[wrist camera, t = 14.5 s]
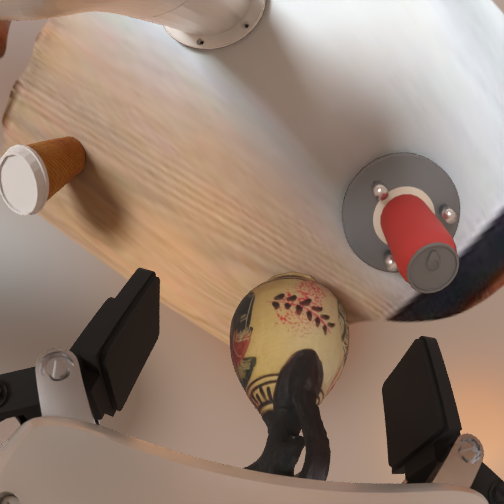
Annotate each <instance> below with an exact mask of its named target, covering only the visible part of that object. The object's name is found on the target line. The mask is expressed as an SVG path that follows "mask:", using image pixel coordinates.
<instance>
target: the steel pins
mask: <svg viewBox="0 0 504 504" xmlns="http://www.w3.org/2000/svg"><path fill="white" fill-rule="evenodd" d="M371 189H372V191H373V193H374V195H375V197H376V198H377V199H378V200H380V201H383V200H385V199H386V198H387V197H388V190H387V189H386V187H385V186H384V184H383V183H382V182H381V181H379V180H376V181H374V182H373V183H372V184H371ZM439 213H440V214H441V216H442V217H443V218H444V219H445V221H446V222H447V223H449V224H452V223H454V222H455V221H456V219H457V215H456V213H455V212H454V211H453V210H452V209H451V208H450V207H449V206H448V205H447V204H442V205H441V206H440V207H439ZM383 258H384V261H385V264H386V267H387V269H388V270H389V271H395V270H396V269H397V266H396V263H395V261H394V258H393V256H392V253H391V251H390V250H388V251H386V252H385V253H384V254H383Z"/></svg>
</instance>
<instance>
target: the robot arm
mask: <svg viewBox="0 0 504 504" xmlns="http://www.w3.org/2000/svg"><path fill="white" fill-rule="evenodd" d="M265 2H266V0H0V20H14V21H15V20H16V21H20V20H37V19H47V18H53V17H59V16H65V15H71V14H76V13H82V12H93V11H99V12H109V13H115V14H120V15H125V16H129V17H132V18H137V19H141V20H145V21H149V22H152V23H156V24H160V25H163V26H164V28H165V30H166V31H167V32H168V34H169V35H170V36H171V37H172V38H174V39H175V40H177V41H178V42H180V43H182V44H184V45H186V46H190V47H193V48H200V49H215V48H221V47H225V46H228V45H230V44H233V43H235V42H237V41H238V40H240V39H242V38H243V37H245V36H246V35H247V34H248V33H250V32H251V31H252V30H253V28H254V27H255V26H256V25H257V24H258V22H259V20H260V18H261V17H262V14H263V11H264V8H265ZM246 24H248V25H249V26H248V27H247V28H245V25H246ZM201 41H204V43H203V44H202V45H201ZM159 298H160V279H159V277H156V274H155V272H153V271H150V270H146V269H143V268H138V269H137V270H136V272H135V273H134V274H133V275H132V277H131V278H130V279H129V281H128V282H127V283H126V285H125V286H124V287H123V289H122V290H121V291H120V292H119V294H118V295H117V296H116V298H112V297H110V298H108V299H107V300H106V301H105V303H104V304H103V305H102V307H101V308H100V309H99V310H98V312H97V313H96V315H95V316H94V317H93V318H92V320H91V321H90V322H89V324H88V325H87V327H86V328H85V329H84V331H83V332H82V333H81V335H80V336H79V337H78V339H77V341H76V342H75V343H74V344H73V346H72V347H71V349H70V350H67V349H64V348H52V349H49V350H46V351H45V352H43V353H42V354H41V355H40V356H39V358H38V359H37V362H36V366H35V367H31V368H27V369H23V370H18V371H14V372H10V373H6V374H1V375H0V448H1V447H2V443H4V442H5V441H7V440H8V441H7V443H6V444H5V446H4V447H3V449H2V450H1V452H0V504H504V482H503V480H501V479H500V478H499V477H498V476H497V475H496V474H495V473H494V472H493V471H492V470H491V469H489V468H488V467H487V466H486V465H485V464H484V463H483V462H482V461H483V457H484V450H483V446H482V444H481V442H480V441H479V440H478V439H477V438H476V437H475V436H473V435H472V434H462V435H460V430H462V428H461V423H460V419H459V415H458V411H457V407H456V403H455V399H454V395H453V391H452V388H451V384H450V381H449V377H448V374H447V371H446V367H445V364H444V361H443V358H442V355H441V352H440V349H439V346H438V343H437V340H436V339H435V338H431V337H425V336H421V337H420V338H419V339H416V340H415V341H414V342H413V343H412V345H411V346H410V348H409V349H408V351H407V352H406V354H405V355H404V356H403V358H402V359H401V361H400V362H399V363H398V365H397V366H396V368H395V369H394V370H393V372H392V373H391V374H390V375H389V377H388V378H387V379H386V381H385V382H384V384H383V387H382V395H383V404H384V412H385V422H386V433H387V434H386V435H387V448H388V462H389V466H391V467H392V474H404V473H405V480H404V481H403V482H402V484H370V483H347V482H346V483H345V482H333V481H322V480H312V479H303V478H295V477H288V476H281V475H275V474H269V473H263V472H258V471H253V470H248V469H243V468H238V467H233V466H229V465H224V464H220V463H216V462H212V461H208V460H204V459H201V458H197V457H193V456H190V455H186V454H183V453H180V452H176V451H173V450H170V449H167V448H164V447H160V446H157V445H154V444H151V443H148V442H145V441H142V440H139V439H137V438H134V437H131V436H128V435H126V434H123V433H120V432H117V431H114V430H111V429H109V428H106V427H103V426H101V425H100V422H99V420H100V419H102V418H103V416H104V414H108V415H110V416H114V414H115V412H116V410H118V411H121V410H122V408H123V406H124V404H125V402H126V400H127V398H128V396H129V394H130V392H131V390H132V388H133V386H134V384H135V382H136V380H137V378H138V376H139V374H140V372H141V370H142V368H143V366H144V364H145V362H146V360H147V358H148V357H149V355H150V352H151V351H152V349H153V347H154V345H155V343H156V341H157V339H158V336H159Z"/></svg>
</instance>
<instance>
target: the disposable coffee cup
mask: <svg viewBox="0 0 504 504" xmlns="http://www.w3.org/2000/svg"><path fill="white" fill-rule="evenodd" d="M84 165H85V152H84V149H83V147H82V145H81V144H80V142H79V141H78V140H77V139H75V138H73V137H63V138H58V139H52V140H48V141H43V142H39V143H34V144H30V145H14V146H12V147H10V148H9V149H8V150H7V152H6V153H5V154H4V155H3V156H2V157H1V159H0V193H1V195H2V198H3V200H4V201H5V203H6V204H7V206H8V207H9V208H10V209H12V211H13V212H15V213H17V214H19V215H28V214H30V215H32V214H36V213H37V212H39V211H40V210H41V209H42V208H43V206H44V204H45V203H46V201H47V200H48V199H50V198H51V197H52V196H53V195H54V194H55V193H56V192H57V191H59V190H60V189H61V188H62V187H63V186H64V185H66V184H67V183H68V182H69V181H70V180H72V179H73V178H74V177H75V176H77V175H78V174H79V173H80V172H81V171H82V170H83V168H84Z"/></svg>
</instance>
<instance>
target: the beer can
mask: <svg viewBox="0 0 504 504" xmlns="http://www.w3.org/2000/svg"><path fill="white" fill-rule="evenodd" d="M380 225H381V228H382V231H383V234H384V236H385V238H386V241H387V243H388V246H389V248H390V251H391V253H392V256H393V258H394V261H395V263H396V266H397V268H398V271H399V273H400V274H401V275H402V277H403V278H404V279H405V281H406V282H408V283H409V284H410V285H411V287H412V288H413V289H415V290H416V291H418V292H422V293H434V292H437V291H439V290H442V289H443V288H445V287H446V286H448V285H449V284H450V282H451V281H452V280H453V279H454V277H455V276H456V274H457V272H458V267H459V257H458V255H457V250H456V245H455V242H454V241H453V239H452V237H451V235H450V234H449V232H448V231H447V230H446V229H445V227H444V226H443V225H442V223H441V222H440V221H439V219H438V218H437V217H436V216H435V214H434V213H433V212H432V211H431V209H430V208H429V207H428V206H427V205H426V203H425V202H424V201H423V200H422V199H420V198H419V197H418V196H415V195H412V194H402V195H399V196H396V197H394V198H393V199H391V200H390V201H389V202H388V203H387V204H386V206H385V207H384V208H383V211H382V213H381V216H380Z"/></svg>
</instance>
